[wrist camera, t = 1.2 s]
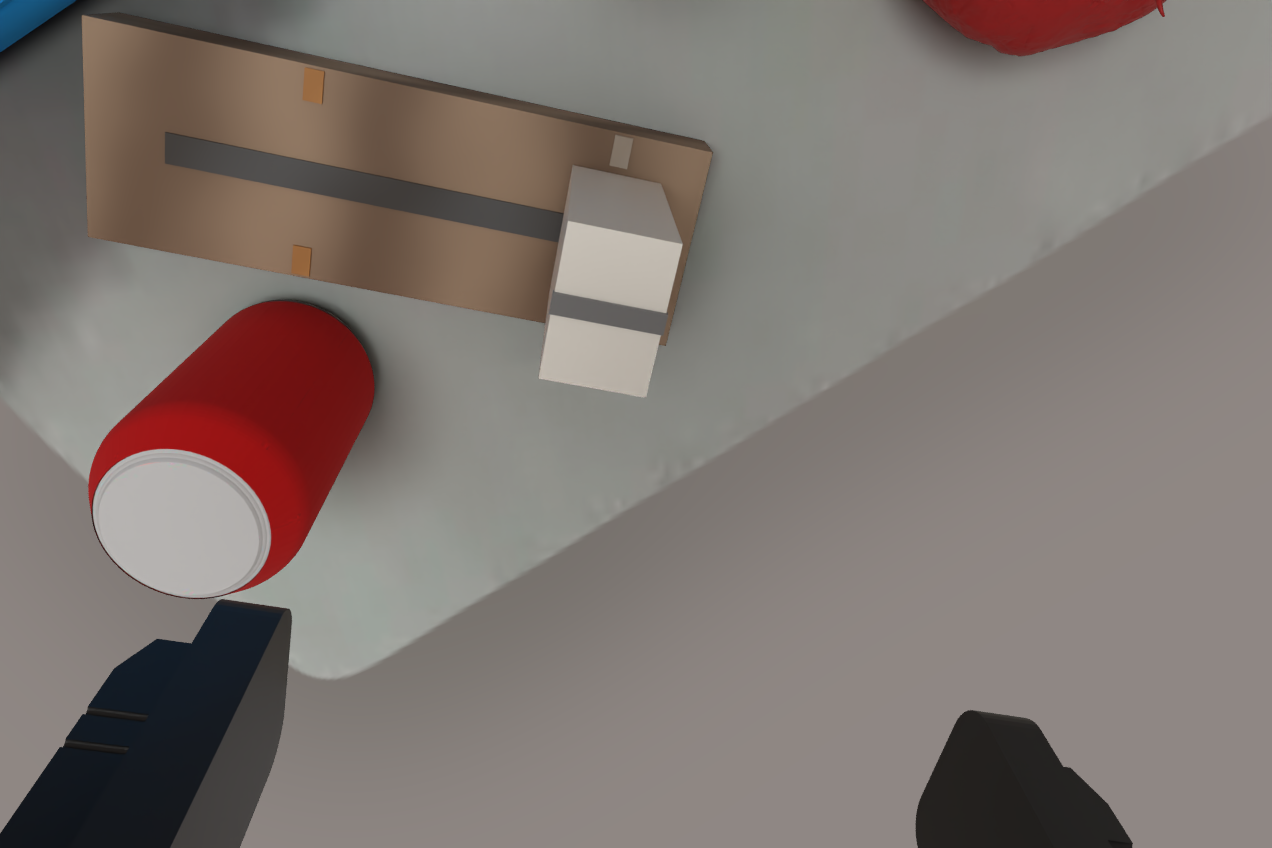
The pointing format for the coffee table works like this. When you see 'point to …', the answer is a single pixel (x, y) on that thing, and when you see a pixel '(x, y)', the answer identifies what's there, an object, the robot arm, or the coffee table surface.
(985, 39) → the red crowned fruit
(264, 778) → the robot arm
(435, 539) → the coffee table surface
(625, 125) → the fader strip
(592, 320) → the fader knob
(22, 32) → the book
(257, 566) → the beverage can
